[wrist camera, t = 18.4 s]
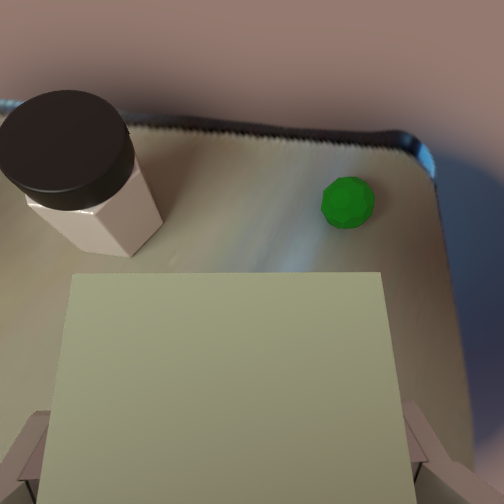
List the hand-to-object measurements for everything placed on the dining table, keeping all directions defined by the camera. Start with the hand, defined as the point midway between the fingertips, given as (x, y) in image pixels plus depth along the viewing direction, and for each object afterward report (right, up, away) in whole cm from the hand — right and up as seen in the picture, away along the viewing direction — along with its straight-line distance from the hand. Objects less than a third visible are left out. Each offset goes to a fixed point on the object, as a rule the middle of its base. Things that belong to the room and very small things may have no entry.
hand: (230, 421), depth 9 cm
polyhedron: (+9, +8, +27) cm, 29 cm away
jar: (-13, +8, +25) cm, 29 cm away
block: (0, -1, +4) cm, 4 cm away
